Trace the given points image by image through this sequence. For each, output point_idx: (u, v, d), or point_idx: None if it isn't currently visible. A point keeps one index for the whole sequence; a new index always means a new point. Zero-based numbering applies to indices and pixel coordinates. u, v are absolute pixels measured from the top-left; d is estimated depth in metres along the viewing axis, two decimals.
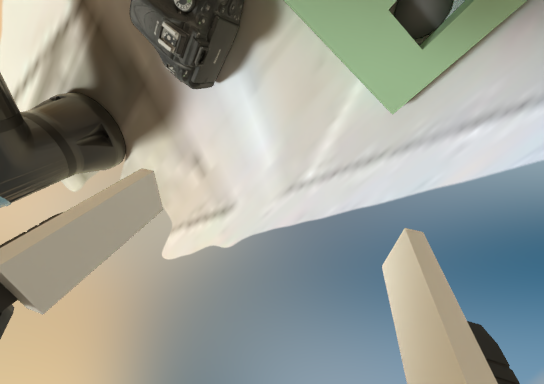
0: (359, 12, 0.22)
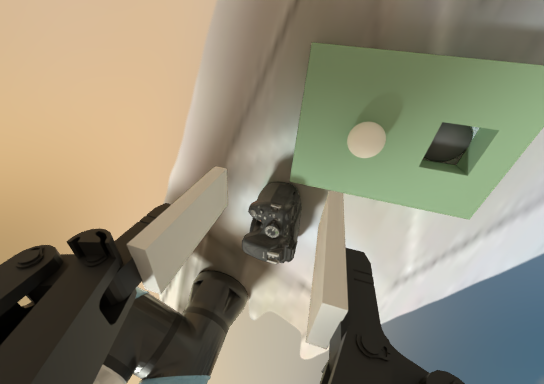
0: (394, 176, 0.27)
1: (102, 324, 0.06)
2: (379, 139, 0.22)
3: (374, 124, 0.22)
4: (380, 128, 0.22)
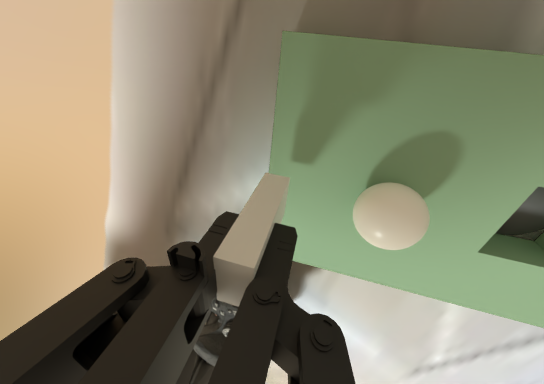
0: (431, 261, 0.16)
1: (182, 344, 0.06)
2: (419, 227, 0.11)
3: (408, 193, 0.11)
4: (420, 202, 0.11)
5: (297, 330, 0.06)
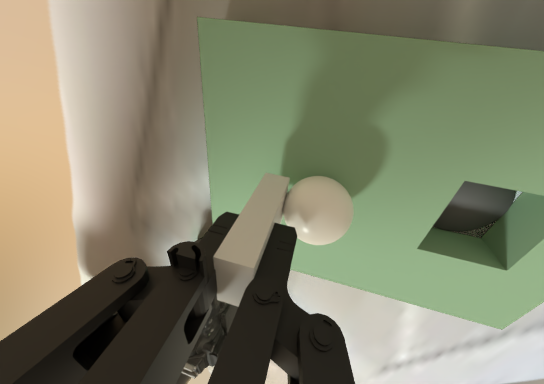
0: (375, 257, 0.16)
1: (182, 344, 0.06)
2: (336, 221, 0.11)
3: (328, 187, 0.11)
4: (340, 196, 0.11)
5: (297, 330, 0.06)
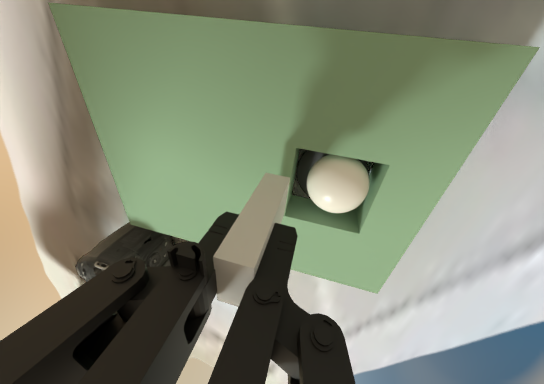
0: None
1: (182, 344, 0.06)
2: (332, 187, 0.12)
3: (343, 160, 0.13)
4: (348, 170, 0.12)
5: (297, 330, 0.06)
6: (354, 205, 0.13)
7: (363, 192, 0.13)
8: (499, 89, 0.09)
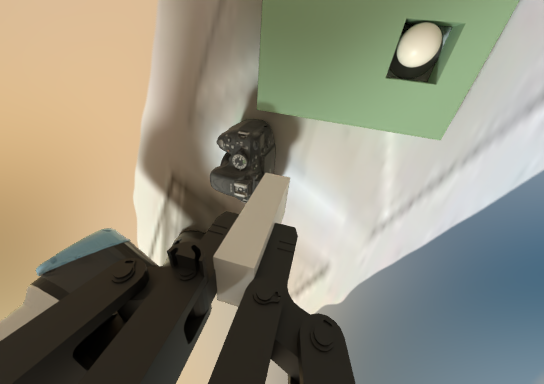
0: (361, 92, 0.26)
1: (182, 344, 0.06)
2: (414, 34, 0.21)
3: (424, 22, 0.21)
4: (427, 24, 0.21)
5: (297, 330, 0.06)
6: (427, 49, 0.21)
7: (435, 39, 0.21)
8: None
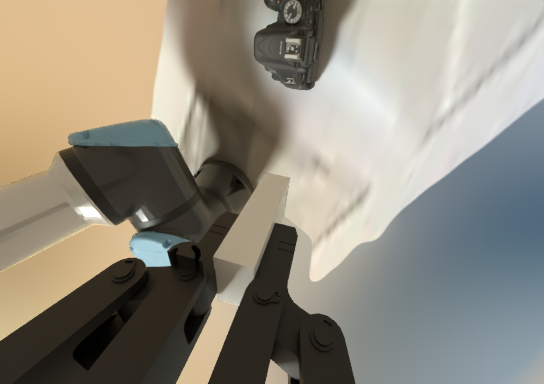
0: None
1: (182, 344, 0.06)
2: None
3: None
4: None
5: (297, 330, 0.06)
6: None
7: None
8: None
